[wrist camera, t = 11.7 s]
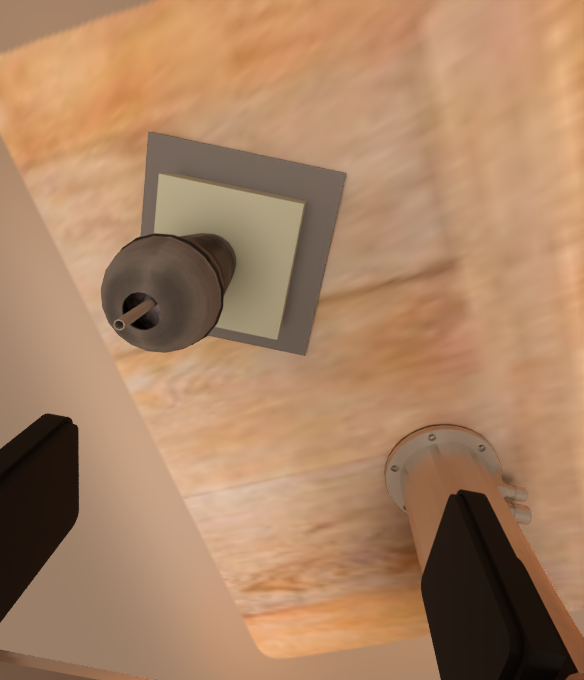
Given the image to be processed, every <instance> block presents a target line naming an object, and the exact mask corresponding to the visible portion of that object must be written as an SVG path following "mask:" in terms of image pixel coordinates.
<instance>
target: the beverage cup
mask: <svg viewBox="0 0 584 680" xmlns="http://www.w3.org/2000/svg"><path fill="white" fill-rule="evenodd" d="M235 268H236V256H235V252H234V249H233V248H232V246H231V245H230V243H229V242H228V241H226V240H225V239H224V238H223V237H220V236H218V235H216V234H207V233H206V234H204V233H200V234H193V235H186V236H176V235H170V234H158V233H154V234H150V235H146V236H142V237H138V238H136V239H135V240H133V241H132V242H130V243H129V244H127V245H126V246H124V247H123V248H122V249H121V251H120V252H119V253H118V254H117V255H116V256H115V258H114V259H113V260H112V262H111V263H110V265H109V266H108V268H107V269H106V271H105V275H104V279H103V283H102V287H101V298H102V307H103V310H104V312H105V315H106V317H107V320H108V322H109V324H110V325H111V326H112V328H113V329H114V330H115V331H116V333H117V334H118V335H119V336H120V337H122V338H123V339H124V340H126V341H127V342H128V343H130V344H131V345H134V346H136V347H139V348H141V349H144V350H146V351H153V352H163V353H164V352H171V351H176V350H181V349H184V348H186V347H188V346H190V345H193V344H195V343H196V342H198V341H200V340H201V339H203V338H205V337H206V336H207V335H208V334H209V333H210V332H211V331H212V329H213V328H214V327H215V326H216V325H217V323H218V321H219V318H220V315H221V312H222V310H223V303H224V295H225V293H226V290H227V288H228V286H229V284H230V282H231V280H232V277H233V274H234V272H235Z"/></svg>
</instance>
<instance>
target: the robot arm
mask: <svg viewBox="0 0 584 680" xmlns="http://www.w3.org/2000/svg"><path fill="white" fill-rule="evenodd" d="M78 471H79V463H78V427H77V425H75V424H73V422H72V419H71V418H69V417H64V416H59V415H54V414H44V415H42V416H41V417H40V418H39V419H37V420H36V421H35V422H34V423H32V424H31V425H30V426H29V427H27V428H26V429H25V430H24V431H22V432H21V433H20V434H19V435H17V436H16V437H15V438H14V439H12V440H11V441H10V442H9V443H7V444H6V445H5V446H3V447H2V448H1V449H0V622H1V621H2V620H3V618H4V617H5V616H6V614H7V613H8V612H9V610H10V609H11V608H12V607H13V605H14V604H15V603H16V601H17V600H18V599H19V597H20V596H21V595H22V593H23V592H24V591H25V589H26V588H27V587H28V585H29V584H30V583H31V581H32V580H33V579H34V577H35V576H36V575H37V573H38V572H39V571H40V569H41V568H42V567H43V566H44V564H45V563H46V562H47V560H48V559H49V558H50V556H51V555H52V554H53V552H54V551H55V550H56V548H57V547H58V546H59V544H60V543H61V542H62V540H63V539H64V538H65V537H66V535H67V534H68V533H69V531H70V530H71V529H72V527H73V526H74V524H75V522H76V520H77V517H78V513H79V479H78V478H79V472H78ZM385 481H386V486H387V490H388V493H389V495H390V497H391V499H392V500H393V502H394V503H395V504H396V506H397V507H398V508H400V509H401V510H402V511H403V512H405V513H406V514H407V515H408V519H409V523H410V527H411V531H412V536H413V540H414V544H415V548H416V552H417V556H418V560H419V565H420V569H421V573H422V580H421V591H422V597H423V601H424V606H425V610H426V615H427V619H428V624H429V628H430V633H431V637H432V642H433V646H434V651H435V655H436V660H437V664H438V669H439V673H440V678H441V680H584V637H583V636H582V634H581V633H580V631H579V630H578V628H577V627H576V625H575V623H574V622H573V620H572V618H571V616H570V615H569V613H568V611H567V610H566V608H565V606H564V605H563V603H562V601H561V600H560V598H559V596H558V595H557V593H556V591H555V589H554V588H553V586H552V584H551V582H550V581H549V579H548V577H547V575H546V573H545V571H544V570H543V568H542V566H541V565H540V563H539V561H538V559H537V557H536V555H535V554H534V552H533V550H532V548H531V546H530V545H529V543H528V541H527V539H526V537H525V536H524V534H523V532H522V530H521V528H520V527H519V525H518V523H521V524H529V522H530V520H531V511H530V508H529V507H528V506H524V505H519V504H514V503H506V501H505V499H504V498H505V497H509V498H512V499H515V500H520V501H526V499H527V496H528V492H527V490H526V489H525V488H522V487H517V486H509V485H506V483H505V482H503V480H502V479H501V466H500V461H499V459H498V457H497V455H496V453H495V451H494V450H493V448H492V447H491V445H490V444H489V443H488V442H487V441H486V440H485V439H484V438H483V437H482V436H480V435H478V434H477V433H475V432H474V431H471V430H469V429H466V428H463V427H458V426H451V425H440V426H431V427H428V428H424V429H421V430H419V431H417V432H414V433H412V434H410V435H409V436H408V437H406V438H405V439H403V440H402V441H401V442H400V443H399V444H398V445H397V446H396V447H395V448H394V450H393V451H392V453H391V454H390V456H389V458H388V461H387V464H386V469H385ZM0 680H155V679H149V678H144V677H139V676H134V675H129V674H124V673H119V672H113V671H109V670H103V669H98V668H93V667H88V666H82V665H77V664H72V663H66V662H62V661H56V660H51V659H46V658H40V657H35V656H30V655H25V654H20V653H15V652H9V651H4V650H0Z"/></svg>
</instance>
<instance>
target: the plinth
mask: <svg viewBox="0 0 584 680" xmlns="http://www.w3.org/2000/svg"><path fill="white" fill-rule="evenodd" d="M345 177H346V173H343V172H338V171H333V170H329V169H324V168H319V167H314V166H310V165H305V164H300V163H295V162H291V161H286V160H281V159H276V158H272V157H267V156H262V155H257V154H252V153H248V152H243V151H238V150H233V149H229V148H224V147H219V146H214V145H210V144H205V143H200V142H195V141H191V140H186V139H181V138H176V137H172V136H167V135H162V134H157V133H153V132H148V144H147V158H146V171H145V185H144V198H143V212H142V226H141V237H142V236H146V235H150V234H154V233H158V234H170V235H176V236H186V235H193V234H200V233H204V234H206V233H207V234H216V235H218V236H220V237H223V238H224V239H225V240H226V241H228V242H229V243H230V245H231V246H232V248H233V249H234V252H235V256H236V268H235V272H234V274H233V277H232V280H231V282H230V284H229V286H228V288H227V290H226V293H225V295H224V303H223V310H222V312H221V315H220V318H219V321H218V323H217V325H216V326H215V327H214V328H213V329H212V331H211V332H210V333H209V334H208V336H213V337H218V338H223V339H227V340H232V341H237V342H242V343H247V344H251V345H256V346H261V347H266V348H270V349H275V350H280V351H285V352H290V353H294V354H299V355H304V356H305V355H306V350H307V346H308V341H309V337H310V333H311V328H312V324H313V319H314V315H315V310H316V306H317V301H318V297H319V293H320V288H321V284H322V279H323V275H324V270H325V266H326V261H327V257H328V252H329V248H330V244H331V239H332V235H333V230H334V226H335V221H336V217H337V212H338V208H339V204H340V199H341V195H342V190H343V186H344V181H345Z"/></svg>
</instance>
